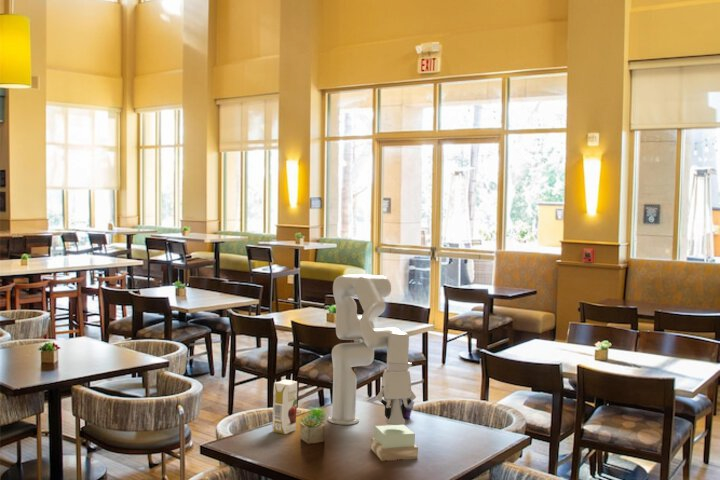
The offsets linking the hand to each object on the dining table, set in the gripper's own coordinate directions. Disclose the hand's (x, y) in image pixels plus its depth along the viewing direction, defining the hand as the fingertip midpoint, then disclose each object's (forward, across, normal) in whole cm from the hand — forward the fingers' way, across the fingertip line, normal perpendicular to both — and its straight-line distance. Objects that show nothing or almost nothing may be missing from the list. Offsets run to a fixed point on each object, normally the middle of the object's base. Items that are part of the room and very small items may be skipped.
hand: (395, 417), depth 259 cm
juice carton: (+13, +34, -32) cm, 48 cm away
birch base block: (+13, 0, 0) cm, 13 cm away
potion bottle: (+13, -18, -43) cm, 48 cm away
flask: (+2, 0, 0) cm, 2 cm away
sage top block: (+9, 0, 0) cm, 9 cm away
